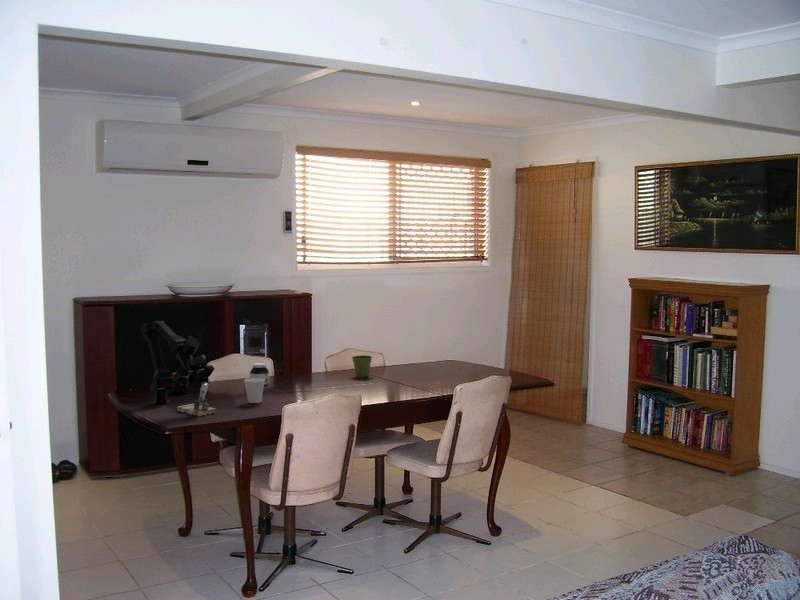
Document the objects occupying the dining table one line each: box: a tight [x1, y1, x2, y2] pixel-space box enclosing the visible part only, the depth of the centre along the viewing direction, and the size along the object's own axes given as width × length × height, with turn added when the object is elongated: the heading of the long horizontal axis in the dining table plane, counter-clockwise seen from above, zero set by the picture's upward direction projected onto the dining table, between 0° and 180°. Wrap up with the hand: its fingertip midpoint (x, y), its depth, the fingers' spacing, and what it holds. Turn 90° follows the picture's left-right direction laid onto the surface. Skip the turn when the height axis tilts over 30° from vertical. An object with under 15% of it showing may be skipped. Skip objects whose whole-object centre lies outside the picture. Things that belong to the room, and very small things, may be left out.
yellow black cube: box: [171, 372, 201, 394], centre depth 416 cm, size 10×10×10 cm
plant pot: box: [351, 355, 373, 379], centre depth 456 cm, size 12×12×11 cm
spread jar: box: [249, 362, 270, 387], centre depth 432 cm, size 12×11×12 cm
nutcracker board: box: [176, 398, 217, 417], centre depth 367 cm, size 18×9×6 cm, turn 48°
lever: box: [197, 382, 209, 406], centre depth 363 cm, size 3×3×11 cm
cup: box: [243, 378, 265, 404], centre depth 387 cm, size 10×10×11 cm
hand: (202, 387), depth 363 cm, fingers closed, pressing on lever
